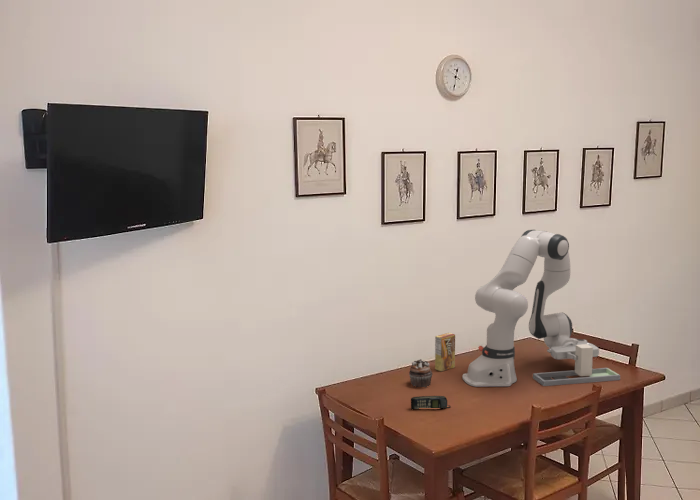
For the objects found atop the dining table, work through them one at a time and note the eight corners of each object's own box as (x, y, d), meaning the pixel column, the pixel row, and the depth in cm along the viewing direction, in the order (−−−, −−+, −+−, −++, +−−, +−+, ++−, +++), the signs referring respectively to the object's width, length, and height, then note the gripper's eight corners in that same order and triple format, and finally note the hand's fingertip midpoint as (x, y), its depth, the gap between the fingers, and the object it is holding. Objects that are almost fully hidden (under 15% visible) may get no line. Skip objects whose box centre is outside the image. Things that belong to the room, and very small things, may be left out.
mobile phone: (411, 398, 247) (451, 396, 247) (410, 396, 250) (449, 393, 250) (411, 411, 248) (451, 409, 248) (410, 408, 251) (450, 406, 251)
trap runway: (543, 386, 271) (543, 381, 270) (532, 378, 280) (532, 373, 280) (620, 379, 276) (620, 375, 276) (606, 372, 286) (607, 367, 286)
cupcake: (404, 385, 275) (404, 361, 273) (418, 378, 282) (418, 356, 280) (423, 390, 268) (423, 366, 267) (437, 383, 275) (437, 360, 274)
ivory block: (580, 376, 276) (581, 348, 274) (574, 372, 281) (575, 344, 279) (591, 375, 277) (592, 347, 275) (585, 371, 281) (586, 344, 280)
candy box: (448, 365, 299) (448, 332, 297) (455, 367, 296) (455, 334, 293) (434, 369, 293) (434, 335, 291) (441, 371, 290) (441, 337, 288)
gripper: (545, 342, 289) (560, 352, 275) (588, 339, 292) (606, 348, 279) (545, 356, 290) (560, 366, 276) (588, 353, 293) (605, 363, 280)
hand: (583, 357), depth 278 cm, fingers closed on ivory block, 5 cm apart
